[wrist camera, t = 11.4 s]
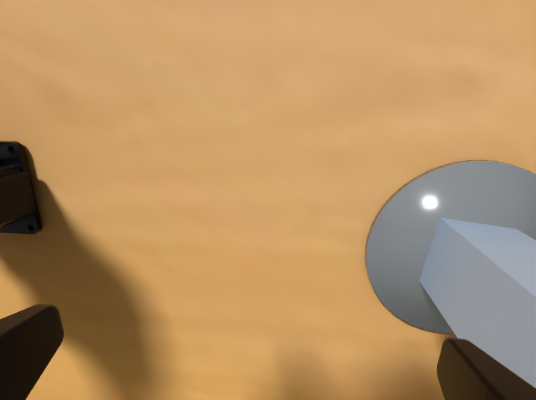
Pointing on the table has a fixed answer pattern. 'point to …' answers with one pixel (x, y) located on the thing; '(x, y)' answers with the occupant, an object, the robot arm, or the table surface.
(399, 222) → the slate coaster
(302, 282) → the table surface
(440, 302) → the grey tall block
